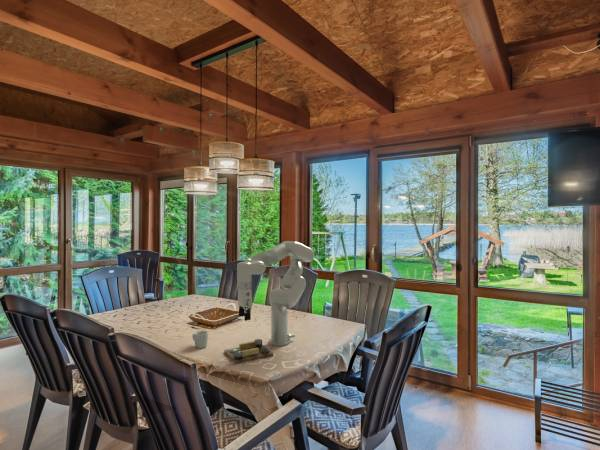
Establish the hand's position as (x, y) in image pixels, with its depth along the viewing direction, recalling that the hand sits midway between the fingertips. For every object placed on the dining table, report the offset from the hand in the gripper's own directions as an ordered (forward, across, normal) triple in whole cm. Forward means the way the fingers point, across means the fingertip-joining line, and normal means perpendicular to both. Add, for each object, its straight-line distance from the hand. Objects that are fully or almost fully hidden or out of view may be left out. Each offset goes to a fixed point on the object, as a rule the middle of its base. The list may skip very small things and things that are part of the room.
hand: (244, 318), depth 188 cm
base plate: (+20, 0, -2) cm, 20 cm away
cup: (+20, +25, +18) cm, 37 cm away
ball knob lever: (+18, +4, -5) cm, 19 cm away
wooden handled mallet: (+18, -6, +2) cm, 19 cm away
